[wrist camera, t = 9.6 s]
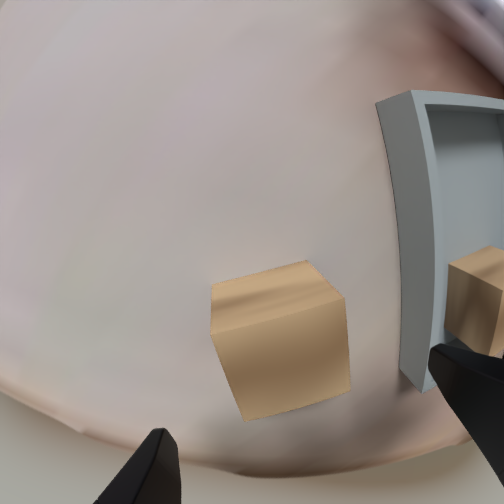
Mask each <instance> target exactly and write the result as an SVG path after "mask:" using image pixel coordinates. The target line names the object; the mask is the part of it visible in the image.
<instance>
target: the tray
mask: <svg viewBox="0 0 504 504" xmlns="http://www.w3.org/2000/svg"><path fill="white" fill-rule="evenodd" d="M376 107H377V111H378V115H379V119H380V123H381V127H382V131H383V136H384V140H385V145H386V150H387V155H388V160H389V166H390V172H391V178H392V184H393V191H394V198H395V206H396V214H397V223H398V234H399V246H400V262H401V292H402V314H401V344H400V359H399V368H400V370H401V371H402V372H403V373H404V374H405V375H406V376H407V378H408V379H409V380H410V381H411V382H412V383H413V385H414V386H415V387H416V388H417V389H418V390H419V392H420V393H421V394H423V393H424V392H426V391H428V390H430V389H432V388H433V387H435V386H437V384H436V382H435V381H434V379H433V377H432V376H431V374H430V372H429V370H428V358H429V351H430V349H431V347H433V346H435V345H437V344H439V343H443V344H446V345H450V346H454V347H457V348H461V349H465V350H469V351H473V350H472V349H471V348H470V347H468V346H467V345H466V344H465V343H463V342H462V341H461V340H460V339H458V338H457V337H456V336H454V335H453V334H452V333H451V332H449V331H448V330H447V329H445V328H444V320H445V311H446V300H447V285H448V263H451V262H453V261H456V260H458V259H460V258H462V257H465V256H467V255H469V254H471V253H474V252H476V251H478V250H480V249H482V248H485V247H487V246H489V245H490V246H493V247H496V248H498V249H501V250H504V100H501V99H495V98H490V97H483V96H476V95H469V94H460V93H450V92H438V91H421V90H410V91H407V92H404V93H401V94H398V95H396V96H393V97H390V98H388V99H385V100H382V101H380V102H377V103H376ZM473 352H475V351H473Z"/></svg>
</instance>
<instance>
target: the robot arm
mask: <svg viewBox="0 0 504 504" xmlns="http://www.w3.org/2000/svg"><path fill="white" fill-rule="evenodd" d="M428 370H429V372H430V374H431V376H432V377H433V379H434V381H435V382H436V384H437V386H438V388H439V389H440V391H441V393H442V395H443V396H444V398H445V400H446V401H447V403H448V404H449V406H450V407H451V408H452V410H453V411H454V413H455V414H456V415H457V417H458V418H459V420H460V421H461V422H462V424H463V425H464V427H465V428H466V429H467V431H468V432H469V434H470V435H471V437H472V438H473V440H474V441H475V442H476V444H477V446H478V447H479V449H480V450H481V452H482V453H483V455H484V456H485V458H486V459H487V461H488V462H489V464H490V465H491V467H492V468H493V470H494V472H495V473H496V475H497V476H498V478H499V480H500V482H501V483H502V485H503V487H504V359H501V358H497V357H493V356H488V355H485V354H481V353H477V352H473V351H469V350H465V349H461V348H457V347H454V346H450V345H446V344H443V343H439V344H437V345H435V346H433V347H431V349H430V351H429V358H428ZM93 504H181V478H180V468H179V458H178V447H177V444H176V442H175V440H174V439H173V437H172V436H171V435H170V433H169V432H168V430H167V429H165V428H156V429H153V430H152V431H151V432H150V433H149V435H148V436H147V437H146V439H145V440H144V441H143V442H142V444H141V445H140V446H139V447H138V449H137V450H136V451H135V453H134V454H133V455H132V456H131V458H130V459H129V460H128V461H127V463H126V464H125V465H124V466H123V468H122V469H121V470H120V471H119V473H118V474H117V475H116V476H115V478H114V479H113V480H112V481H111V483H110V484H109V485H108V486H107V487H106V489H105V490H104V491H103V492H102V493H101V495H100V496H99V497H98V500H96V501H95V502H94V503H93Z"/></svg>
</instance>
